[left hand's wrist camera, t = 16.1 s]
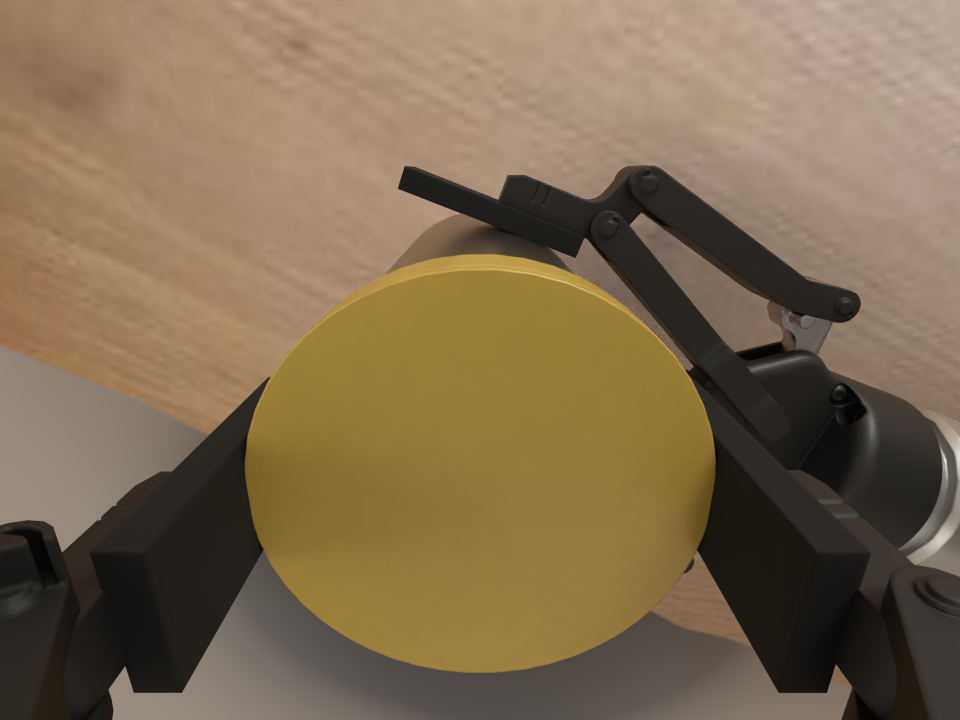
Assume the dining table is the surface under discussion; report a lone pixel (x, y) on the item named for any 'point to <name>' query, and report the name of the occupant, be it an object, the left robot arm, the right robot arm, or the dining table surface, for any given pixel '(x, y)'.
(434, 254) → the jar
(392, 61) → the dining table surface
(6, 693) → the left robot arm
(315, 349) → the lid
